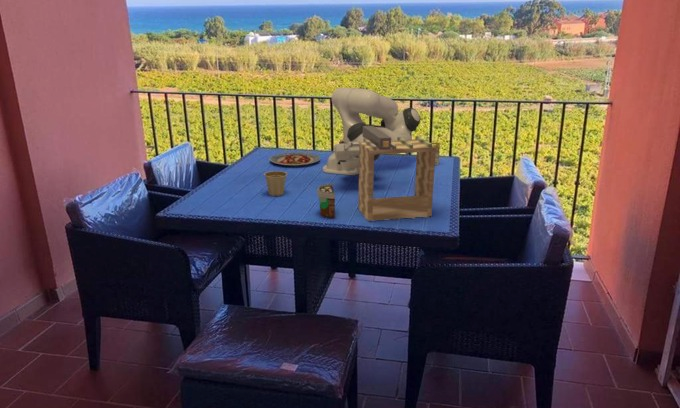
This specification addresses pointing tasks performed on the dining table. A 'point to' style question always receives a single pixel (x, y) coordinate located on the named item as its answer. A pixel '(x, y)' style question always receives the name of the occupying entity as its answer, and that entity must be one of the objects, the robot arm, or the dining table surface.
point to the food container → (327, 200)
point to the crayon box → (437, 153)
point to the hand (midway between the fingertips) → (362, 143)
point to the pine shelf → (397, 205)
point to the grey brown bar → (377, 137)
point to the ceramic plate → (294, 159)
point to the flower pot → (275, 182)
